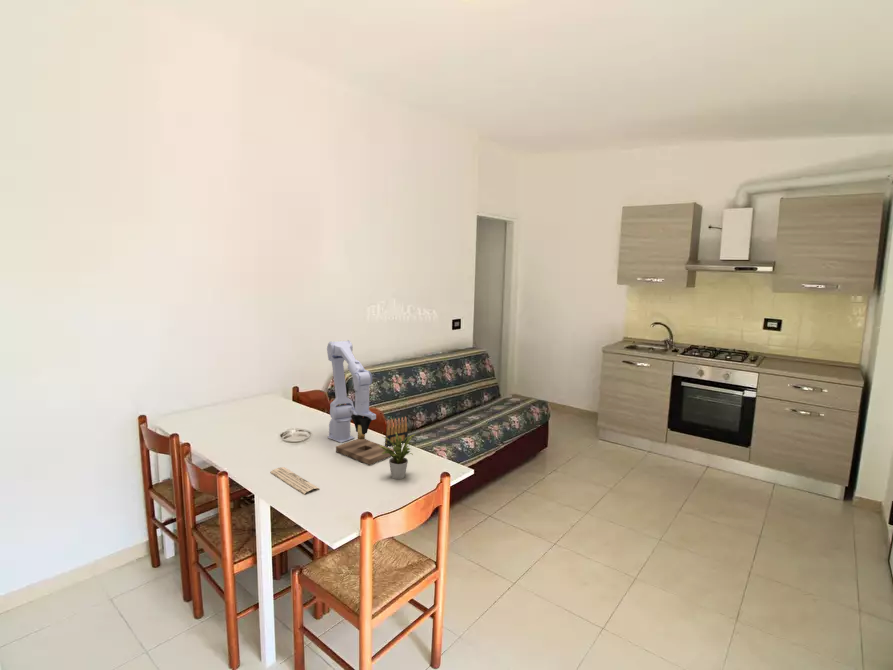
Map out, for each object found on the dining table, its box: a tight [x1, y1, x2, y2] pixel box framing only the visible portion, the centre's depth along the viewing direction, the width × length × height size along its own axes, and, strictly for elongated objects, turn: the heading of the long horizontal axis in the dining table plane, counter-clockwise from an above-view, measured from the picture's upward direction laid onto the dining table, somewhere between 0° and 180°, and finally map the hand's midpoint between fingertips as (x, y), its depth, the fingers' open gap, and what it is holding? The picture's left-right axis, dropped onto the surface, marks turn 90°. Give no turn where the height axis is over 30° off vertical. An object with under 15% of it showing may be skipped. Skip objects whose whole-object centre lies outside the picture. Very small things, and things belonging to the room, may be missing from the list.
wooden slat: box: [270, 466, 320, 496], centre depth 177 cm, size 24×7×2 cm, turn 47°
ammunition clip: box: [384, 416, 409, 448], centre depth 215 cm, size 11×2×12 cm, turn 127°
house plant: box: [379, 433, 416, 480], centre depth 185 cm, size 14×14×16 cm
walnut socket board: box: [335, 438, 395, 466], centre depth 204 cm, size 20×14×2 cm
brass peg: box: [357, 423, 366, 440], centre depth 202 cm, size 3×3×6 cm
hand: (361, 432), depth 202 cm, fingers closed on brass peg, 3 cm apart
